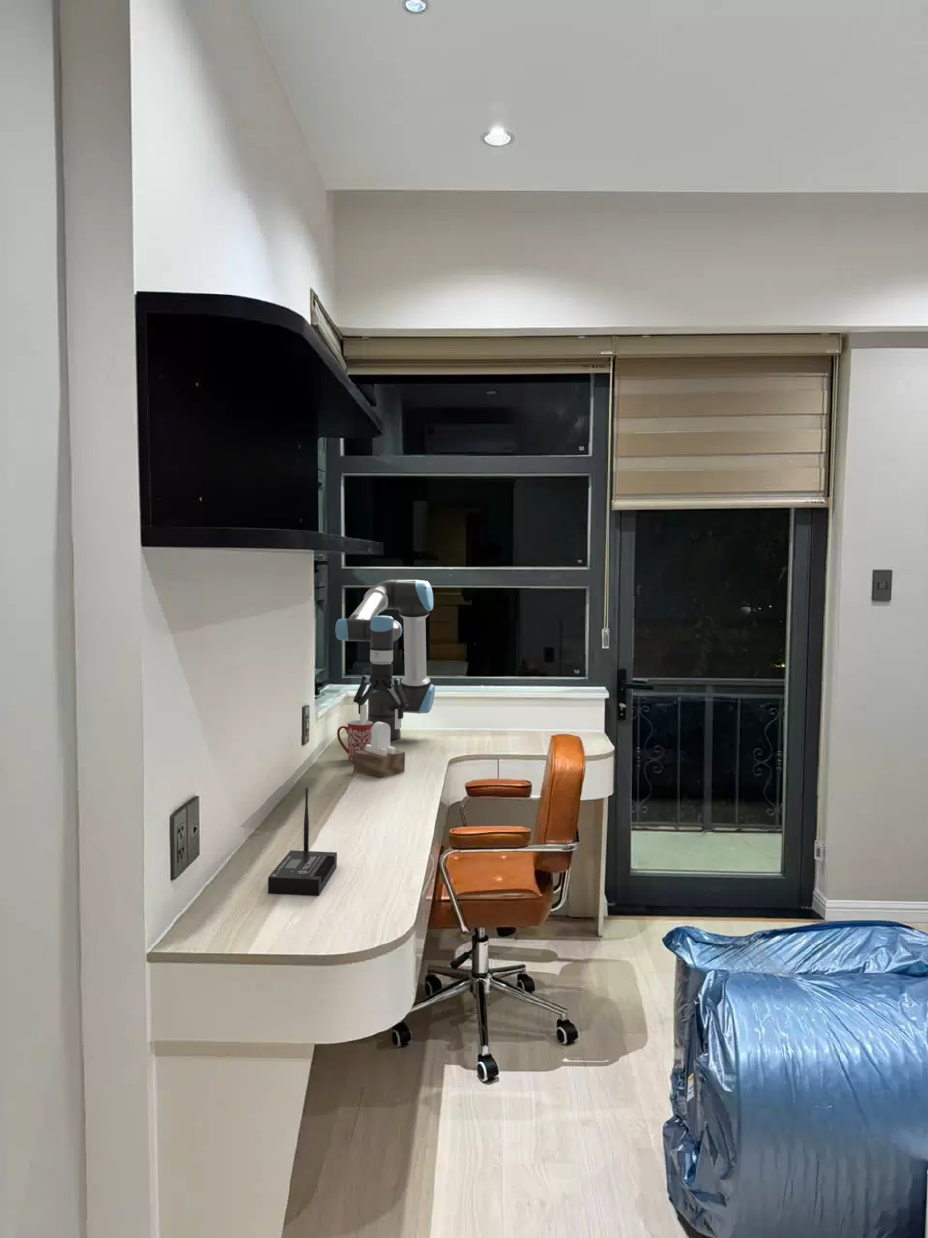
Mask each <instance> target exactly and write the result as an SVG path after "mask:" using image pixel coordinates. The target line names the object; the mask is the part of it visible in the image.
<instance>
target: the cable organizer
mask: <svg viewBox="0 0 928 1238" xmlns="http://www.w3.org/2000/svg"><path fill="white" fill-rule="evenodd" d="M390 731H391V730H390V726H389V725H388V724H387V723H383V722H376V723H374V724H373V726H372V731H371V744H370V745H369V744H368V745H366V751H368V752H371V753H375V754H378V755H382V756H385V755H387V753H388V754H395V750H396V747H395V746H391V740H390Z"/></svg>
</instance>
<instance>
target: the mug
mask: <svg viewBox="0 0 928 1238" xmlns="http://www.w3.org/2000/svg"><path fill="white" fill-rule="evenodd" d="M346 724H347V725H341V726H339V727H338V728H337V732H336V735H337V740H338V742H339V744H340V746H341V748H342V749H343V750H344V751H345V753H346V754H347V755H348V758H347V759H348V761H349V762H352V763H353V758H354V752H357V751H361V750H365V749H366V745H368V744H369V745H371V731H372V724H373V722H371V721H367V720H366V724H363V725H360V719H358V720H357V719H355V720H349V721H347V722H346ZM342 729H344V730H345V731H346V734H347V745H348V747H347V746H346V745H345V743H344V742H343V740H342V738H341V730H342Z"/></svg>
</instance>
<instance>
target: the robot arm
mask: <svg viewBox="0 0 928 1238" xmlns="http://www.w3.org/2000/svg"><path fill="white" fill-rule="evenodd" d="M385 610H396V611H397V610H398V612H399V613H398V614H399V617H401V618H402V619H403V620H402V621H403V627H402V625H401V623H400V622H399V621H397V620H396V619H394V617H392V616H391V615H379V614H380V613H382V612H384V611H385ZM432 610H434V593H433V589H432V585H431V584H430V583H429V581H427V580H422V579H421V580H419V579H385V580H383V581H381V582H378V583H376V584H375V585H373V586H372V587H370V588H369V589H368V590H367V591H366V592H365V594H364V595H363V600H362V602H360V604H359V605H358V606H357V607H356V609H354V612H352V614H351V615H350V616H349V617H348V618H339V619H338V620H337V621H336V622H335V630H334V631H335V636H336V639H337V640H339V641H346V642H370V646H369V647H370V650H369V661H370V663H369V674H370V676H369V675H367V674H366V675H363V676H361V683H360V685H359V687H358V689H357V691H356V693H355V696H354V697H353V701H352V702H353V703H355V704H357V707H358V711H357V713H358V715H359V720H360V725H363V724H366V721H371V722H373V724H374V723H376V722H383V723H387V724H388V725H389V726H390V730H391V731H390V741H394V739H395V740H398V738H399V739H401V737H402V735H401V732H402V731H401V728H402V719H404V713H405V714H406V713H407V714H419V715H420V714H428V713H430V712H431V710H432V708H433V703H434V700H435V691H436V688H435V686H436V685H434V684H431V679H430V677H428V676H427V641H426V640H427V639H426V638H427V637H426V636H427V634H426V633H427V632H426V630H427V629H426V628H427V627H426V618H427V617H428V616H430V611H432ZM402 633H403V649H404V651H403V655H404V677H403V678H400V677H399V678H393V673H394V670H393V668H394V667H393V665H394V664H393V663H392V662H393V661H394V642H396V641H397V640H399V638H400V637H401V636H402ZM368 683H369V685H368ZM367 686H368V688H367ZM366 689H367V690H366ZM366 702H367V704H366ZM373 724H372V726H373Z"/></svg>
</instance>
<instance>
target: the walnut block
mask: <svg viewBox="0 0 928 1238" xmlns="http://www.w3.org/2000/svg"><path fill="white" fill-rule="evenodd" d="M352 763H353V765H352V766H353V767H352V769H353V770H352V771H353V773H355V772H356V774H359V773H360V774H359V775H363V774H364V776H368V777H372V778H377V779H382V778H386V777H390V776H393V775H397V773H398V774H401V773H400V772H402V773H405V772H404V771H405V770H406V769H405V767H406V766H405V765H406V764H405V763H406V752H405V751H403V750H398V749H395V754H388V753H387V755H385V756H382V755H378V754H375V753H371V752H368V751H366V749H365V750H361V751H357V752H354V758H353V762H352Z"/></svg>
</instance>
